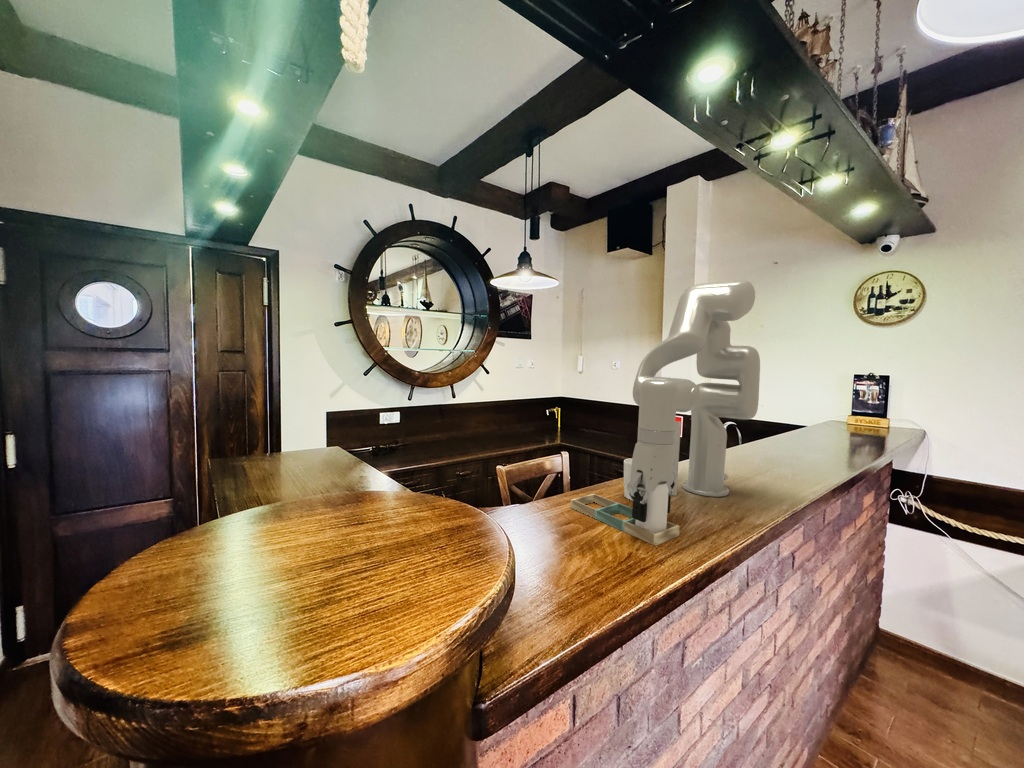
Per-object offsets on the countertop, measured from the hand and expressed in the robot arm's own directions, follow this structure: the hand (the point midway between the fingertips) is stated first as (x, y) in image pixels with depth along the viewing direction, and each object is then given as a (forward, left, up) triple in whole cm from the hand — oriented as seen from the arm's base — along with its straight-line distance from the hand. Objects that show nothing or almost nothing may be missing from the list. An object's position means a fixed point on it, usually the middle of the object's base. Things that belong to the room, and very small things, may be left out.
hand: (651, 515), depth 91 cm
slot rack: (0, -8, -4) cm, 9 cm away
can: (0, 0, -4) cm, 4 cm away
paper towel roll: (-26, -15, -4) cm, 30 cm away
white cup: (-17, -16, -4) cm, 24 cm away
